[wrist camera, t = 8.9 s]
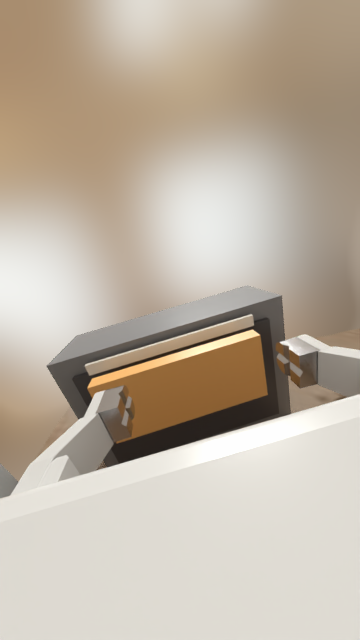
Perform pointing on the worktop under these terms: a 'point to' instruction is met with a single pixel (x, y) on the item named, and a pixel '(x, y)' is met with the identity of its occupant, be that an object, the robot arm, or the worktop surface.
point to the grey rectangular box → (172, 337)
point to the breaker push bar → (191, 382)
